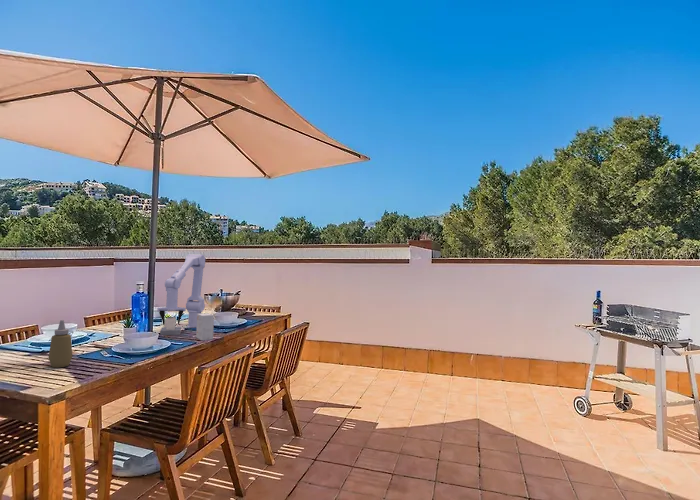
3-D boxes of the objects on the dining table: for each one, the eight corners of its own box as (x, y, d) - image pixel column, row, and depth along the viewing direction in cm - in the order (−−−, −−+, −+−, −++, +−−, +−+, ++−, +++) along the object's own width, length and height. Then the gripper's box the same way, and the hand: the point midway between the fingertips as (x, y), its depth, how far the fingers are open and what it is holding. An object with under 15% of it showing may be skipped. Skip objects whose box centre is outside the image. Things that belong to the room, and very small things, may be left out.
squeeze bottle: (45, 369, 173) (47, 322, 173) (50, 364, 180) (52, 319, 180) (70, 368, 176) (72, 321, 176) (73, 362, 183) (75, 318, 183)
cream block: (166, 328, 252) (167, 317, 252) (175, 328, 253) (175, 317, 253) (166, 329, 248) (166, 318, 248) (175, 329, 249) (175, 318, 249)
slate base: (161, 331, 254) (162, 327, 254) (180, 331, 257) (181, 327, 257) (160, 335, 244) (160, 330, 244) (179, 334, 247) (179, 330, 247)
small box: (213, 339, 239) (214, 314, 239) (201, 340, 235) (202, 315, 235) (207, 336, 245) (208, 312, 245) (195, 337, 241) (196, 313, 241)
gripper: (157, 300, 245) (156, 325, 245) (185, 300, 249) (184, 325, 249) (158, 299, 251) (157, 323, 251) (186, 299, 256) (185, 323, 256)
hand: (171, 324), depth 251 cm, fingers open, 7 cm apart
